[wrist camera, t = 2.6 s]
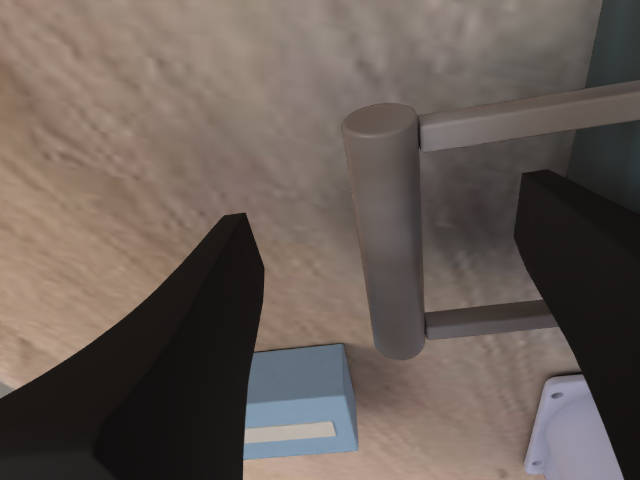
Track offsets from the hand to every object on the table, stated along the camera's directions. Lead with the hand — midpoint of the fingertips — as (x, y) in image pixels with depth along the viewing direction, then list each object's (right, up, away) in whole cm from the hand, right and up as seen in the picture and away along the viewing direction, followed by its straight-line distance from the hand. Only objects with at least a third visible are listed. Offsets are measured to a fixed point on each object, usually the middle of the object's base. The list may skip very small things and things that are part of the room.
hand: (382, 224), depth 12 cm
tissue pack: (-3, -7, +9) cm, 12 cm away
